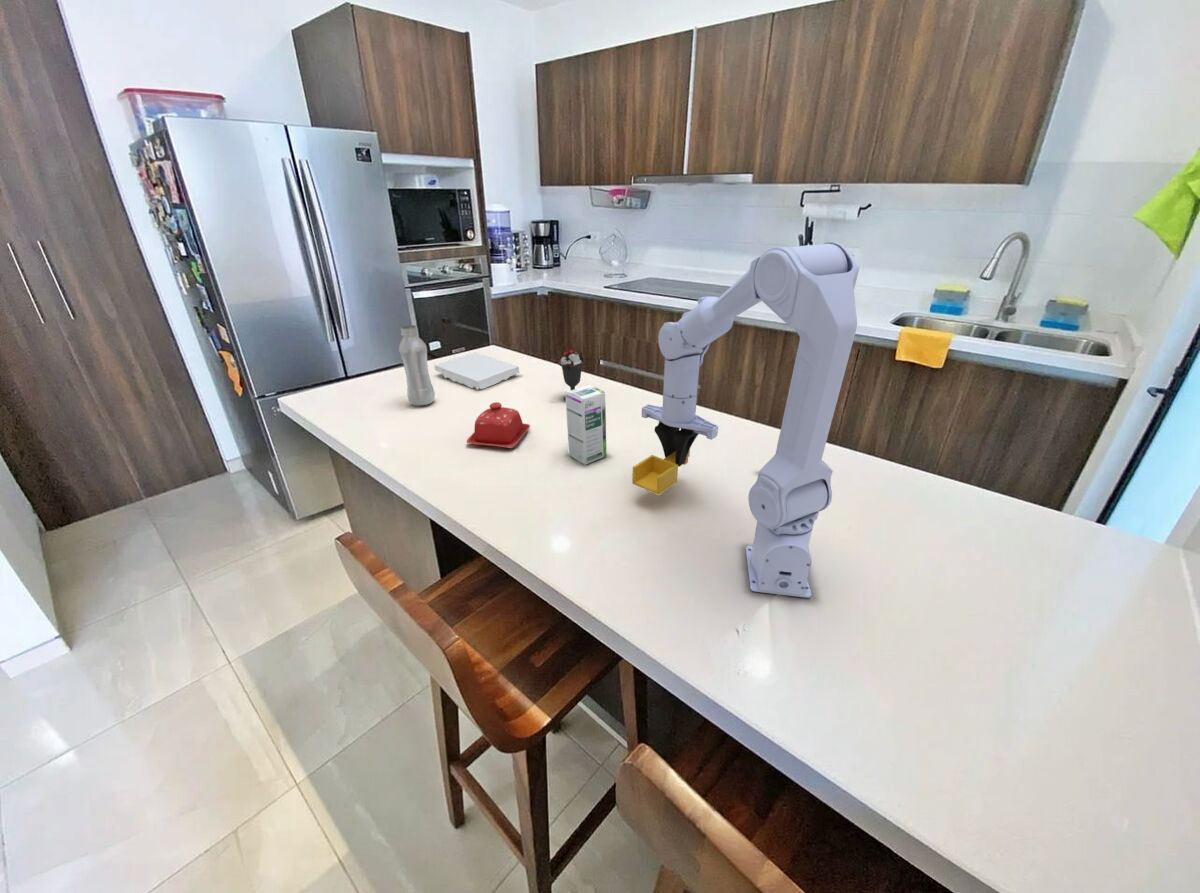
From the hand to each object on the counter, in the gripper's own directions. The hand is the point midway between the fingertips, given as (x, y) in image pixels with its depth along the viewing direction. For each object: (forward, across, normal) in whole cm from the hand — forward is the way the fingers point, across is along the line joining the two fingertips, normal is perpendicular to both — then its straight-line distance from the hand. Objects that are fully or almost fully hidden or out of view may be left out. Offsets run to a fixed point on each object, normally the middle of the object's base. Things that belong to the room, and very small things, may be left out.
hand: (675, 462), depth 91 cm
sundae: (+5, +44, -19) cm, 48 cm away
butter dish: (+5, +41, +9) cm, 42 cm away
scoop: (+1, 0, +3) cm, 3 cm away
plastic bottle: (+5, +72, +9) cm, 73 cm away
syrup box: (+5, +20, +2) cm, 21 cm away
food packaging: (+5, +78, -13) cm, 80 cm away
